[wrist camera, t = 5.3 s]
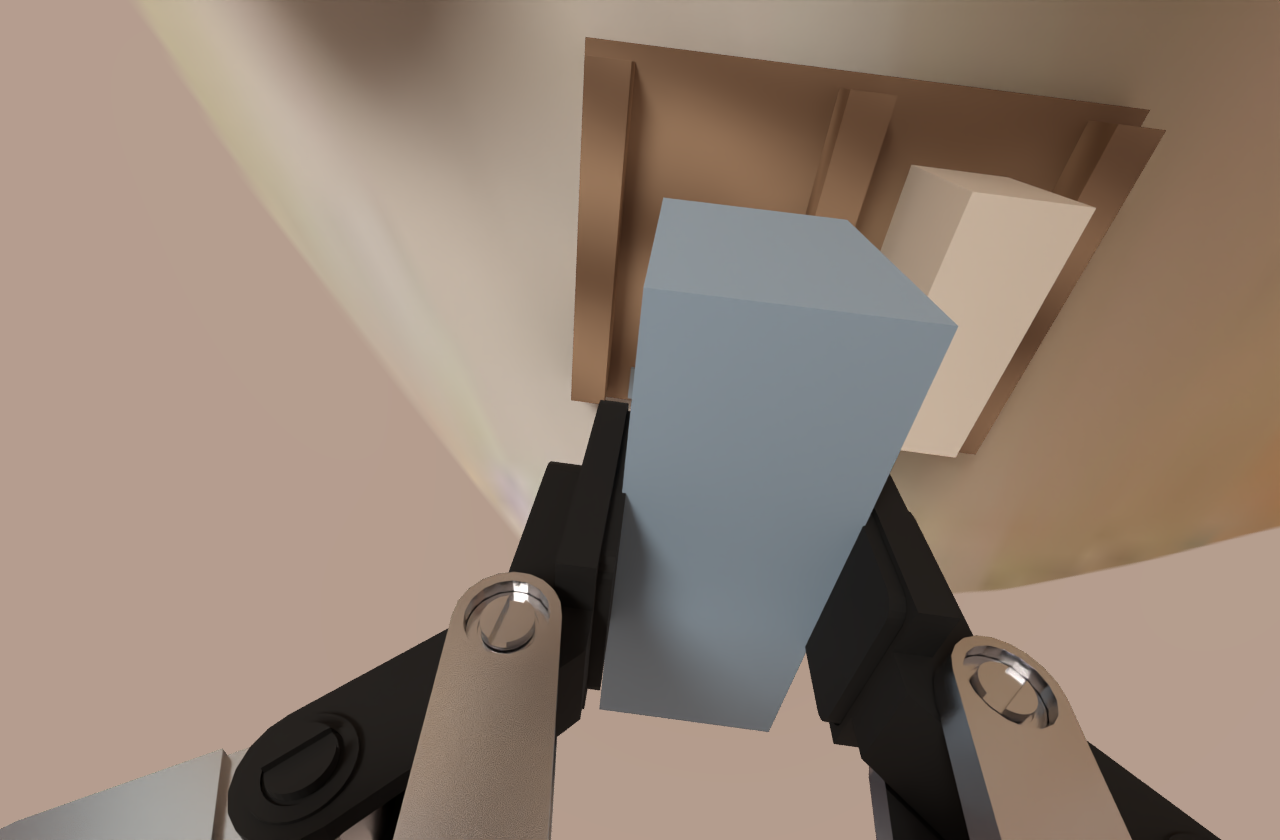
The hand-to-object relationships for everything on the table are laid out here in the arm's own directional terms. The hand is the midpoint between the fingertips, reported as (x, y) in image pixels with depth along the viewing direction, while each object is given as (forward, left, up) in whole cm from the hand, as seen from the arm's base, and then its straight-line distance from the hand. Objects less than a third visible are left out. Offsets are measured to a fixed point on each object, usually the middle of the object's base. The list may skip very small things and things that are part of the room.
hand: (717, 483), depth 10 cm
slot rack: (0, +4, -15) cm, 15 cm away
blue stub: (0, 0, -3) cm, 3 cm away
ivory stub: (0, +8, -14) cm, 16 cm away
